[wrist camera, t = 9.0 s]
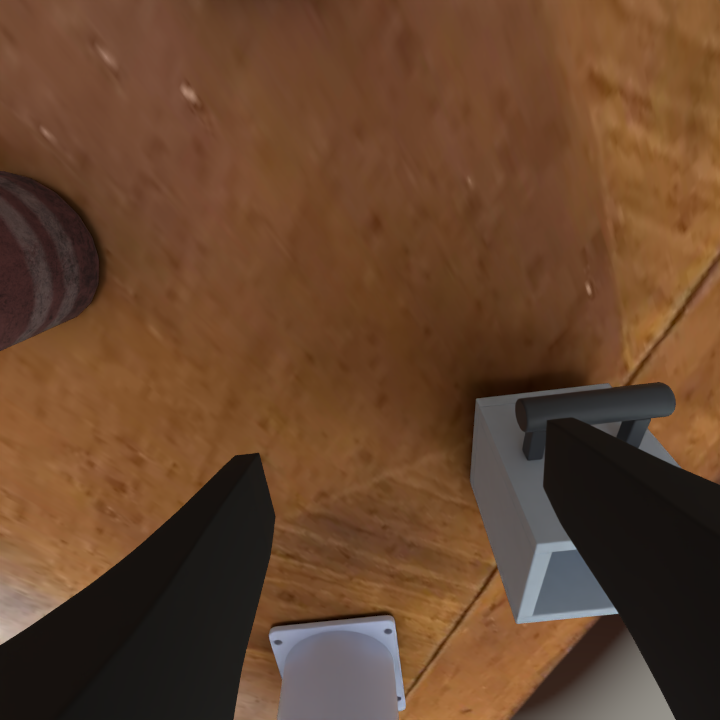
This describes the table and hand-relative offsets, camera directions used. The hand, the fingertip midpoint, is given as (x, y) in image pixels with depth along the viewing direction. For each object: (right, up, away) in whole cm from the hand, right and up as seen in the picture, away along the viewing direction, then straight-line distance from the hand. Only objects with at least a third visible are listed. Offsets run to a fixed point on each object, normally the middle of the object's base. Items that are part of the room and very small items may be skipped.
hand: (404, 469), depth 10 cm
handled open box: (+8, -5, +9) cm, 13 cm away
